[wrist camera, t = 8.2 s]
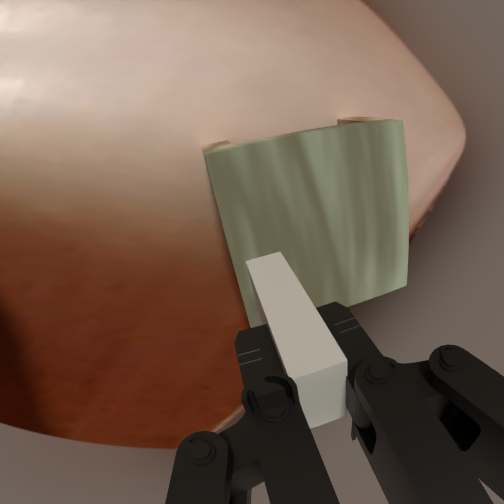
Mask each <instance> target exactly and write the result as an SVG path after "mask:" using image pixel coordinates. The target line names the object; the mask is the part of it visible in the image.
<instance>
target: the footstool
mask: <svg viewBox="0 0 504 504" xmlns="http://www.w3.org/2000/svg"><path fill="white" fill-rule="evenodd" d="M202 148H203V152H204V156H205V160H206V164H207V167H208V171H209V175H210V179H211V183H212V187H213V191H214V195H215V198H216V202H217V206H218V210H219V214H220V217H221V221H222V225H223V229H224V233H225V236H226V240H227V244H228V247H229V251H230V255H231V259H232V262H233V266H234V270H235V273H236V277H237V281H238V284H239V288H240V292H241V295H242V299H243V302H244V306H245V309H246V313H247V316H248V320H249V323H250V327H251V328H253V327H257V326H260V325H263V324H262V321H261V318H260V315H259V312H258V308H257V304H256V300H255V296H254V293H253V289H252V285H251V281H250V277H249V273H248V269H247V265H246V261H248V260H251V259H255V258H259V257H262V256H266V255H269V254H273V253H277V252H281V253H282V255H283V257H284V258H285V260H286V261H287V263H288V264H289V266H290V268H291V269H292V271H293V272H294V274H295V276H296V277H297V279H298V280H299V282H300V284H301V285H302V287H303V288H304V290H305V292H306V293H307V295H308V296H309V298H310V300H311V301H312V303H313V305H314V306H315V308H316V307H320V306H323V305H326V304H329V303H332V302H335V301H336V302H338V303H340V304H342V305H343V306H345V307H349V306H352V305H355V304H358V303H360V302H363V301H366V300H369V299H372V298H374V297H377V296H380V295H382V294H385V293H388V292H390V291H393V290H396V289H398V288H401V287H403V286H406V284H407V270H408V247H409V197H408V173H407V158H406V146H405V136H404V126H403V120H393V119H382V118H369V117H351V118H343V119H338V125H336V126H330V127H323V128H317V129H311V130H305V131H300V132H294V133H289V134H284V135H279V136H274V137H269V138H264V139H259V140H255V141H250V142H246V143H241V144H237V145H233V144H232V143H230V142H228V141H227V140H226V141H222V142H218V143H214V144H210V145H206V146H202Z"/></svg>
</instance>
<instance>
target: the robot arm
mask: <svg viewBox="0 0 504 504" xmlns="http://www.w3.org/2000/svg"><path fill="white" fill-rule="evenodd" d="M246 265H247V269H248V273H249V277H250V281H251V285H252V289H253V293H254V296H255V300H256V304H257V308H258V312H259V315H260V318H261V321H262V324H263V325H260V326H257V327H253V328H250V329H246V330H242V331H239V332H238V334H237V337H236V340H235V348H236V352H237V356H238V362H239V365H240V371H241V375H242V380H243V384H244V389H243V391H242V399H241V401H242V403H243V405H244V408H245V410H246V412H245V413H244V415H243V417H242V418H241V419H240V420H239V421H238V423H236V424H234V425H233V426H231V427H230V428H228V429H226V430H224V431H222V432H220V433H218V434H216V433H215V432H209V431H201V432H195V433H193V434H191V435H189V436H187V437H186V438H185V439H184V440H183V441H182V442H181V443H180V445H179V447H178V450H177V452H176V457H175V461H174V466H173V470H172V475H171V480H170V484H169V489H168V493H167V498H166V503H165V504H251V490H252V488H253V487H255V486H256V485H258V484H260V483H262V482H264V481H265V485H266V489H267V493H268V496H269V500H270V504H340V503H339V501H338V498H337V496H336V493H335V491H334V488H333V486H332V483H331V481H330V478H329V476H328V473H327V471H326V468H325V466H324V463H323V461H322V459H321V456H320V453H319V450H318V448H317V445H316V443H315V440H314V438H313V435H312V433H311V430H310V428H314V427H316V426H319V425H323V424H325V423H328V422H331V421H334V420H336V419H339V418H342V417H344V416H346V415H347V409H348V411H349V413H350V415H351V417H352V431H351V437H352V440H355V439H356V436H357V438H358V440H359V443H360V445H361V447H362V449H363V451H364V453H365V455H366V457H367V459H368V461H369V463H370V465H371V467H372V469H373V471H374V474H375V475H376V478H377V480H378V482H379V484H380V486H381V488H382V490H383V492H384V494H385V496H386V499H387V501H388V503H389V504H493V502H492V500H491V499H490V497H489V496H488V494H487V492H486V490H485V489H484V487H483V486H482V484H481V482H480V481H479V479H480V480H481V481H482V482H483V483H484V484H486V485H487V486H488V487H489V488H490V489H491V490H492V491H493V492H495V493H496V494H497V495H498V496H499V497H500V498H501V499H503V500H504V377H503V376H502V375H501V374H499V373H498V372H497V371H495V370H493V369H492V368H490V367H489V366H488V365H486V364H485V363H484V362H482V361H481V360H479V359H478V358H476V357H475V356H473V355H472V354H470V353H469V352H468V351H466V350H465V349H463V348H460V347H459V346H456V345H443V346H440V347H439V348H437V349H435V350H434V351H433V352H432V354H431V355H430V357H429V360H426V361H421V362H415V363H407V364H401V363H397V362H396V361H395V360H394V359H391V358H388V357H384V356H383V355H382V354H381V353H380V351H379V350H378V349H377V347H376V346H375V344H374V343H373V342H372V340H371V339H370V338H369V336H368V335H367V334H366V332H365V331H364V329H363V328H362V327H361V326H360V324H359V323H358V321H357V320H356V319H355V318H354V316H353V315H352V313H351V312H350V311H349V309H348V308H347V307H345V306H343V305H342V304H340V303H338V302H336V301H335V302H332V303H329V304H326V305H323V306H320V307H316V308H315V306H314V305H313V303H312V301H311V300H310V298H309V296H308V295H307V293H306V292H305V290H304V288H303V287H302V285H301V284H300V282H299V280H298V279H297V277H296V276H295V274H294V272H293V271H292V269H291V268H290V266H289V264H288V263H287V261H286V260H285V258H284V257H283V255H282V253H281V252H277V253H273V254H269V255H266V256H262V257H259V258H255V259H251V260H248V261H246ZM477 477H478V478H479V479H478V478H477Z"/></svg>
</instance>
